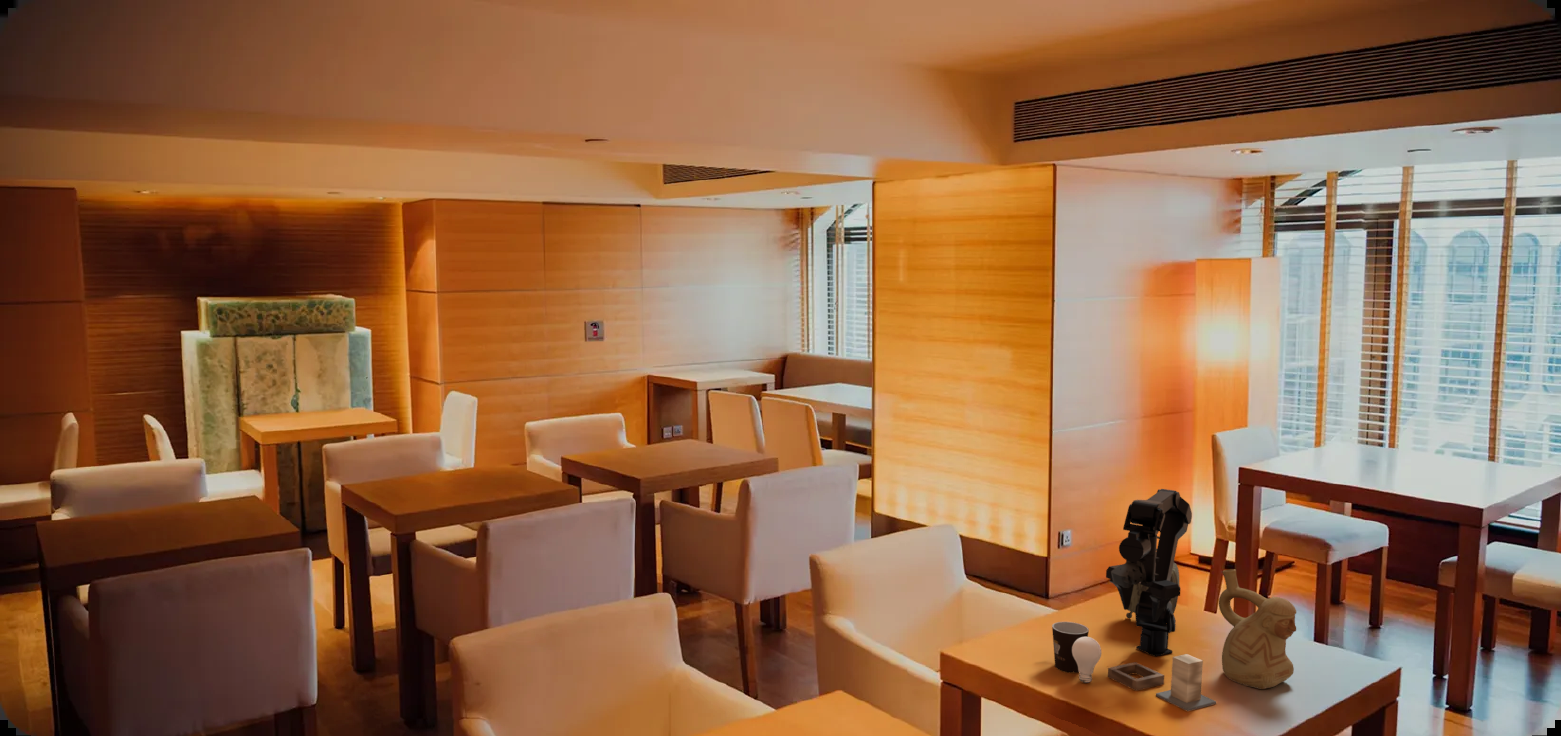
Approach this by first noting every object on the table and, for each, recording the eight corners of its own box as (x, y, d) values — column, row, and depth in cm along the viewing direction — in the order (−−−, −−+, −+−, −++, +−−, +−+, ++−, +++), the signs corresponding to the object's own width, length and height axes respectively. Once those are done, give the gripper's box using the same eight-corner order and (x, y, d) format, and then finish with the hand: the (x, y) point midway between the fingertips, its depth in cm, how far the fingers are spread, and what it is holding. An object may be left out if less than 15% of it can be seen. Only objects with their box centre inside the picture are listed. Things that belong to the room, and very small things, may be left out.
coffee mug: (1088, 675, 244) (1090, 635, 243) (1051, 672, 246) (1053, 632, 245) (1084, 658, 255) (1086, 619, 254) (1048, 654, 257) (1050, 616, 256)
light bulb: (1095, 690, 235) (1097, 644, 234) (1066, 684, 239) (1068, 638, 238) (1103, 681, 241) (1105, 636, 240) (1075, 674, 244) (1077, 630, 243)
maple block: (1184, 691, 234) (1186, 653, 233) (1200, 699, 230) (1202, 660, 229) (1170, 695, 232) (1172, 656, 231) (1186, 702, 228) (1188, 663, 227)
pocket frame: (1134, 670, 248) (1135, 661, 247) (1163, 684, 240) (1164, 674, 240) (1107, 676, 244) (1108, 667, 243) (1136, 690, 236) (1136, 681, 236)
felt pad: (1183, 688, 237) (1184, 686, 237) (1216, 703, 229) (1216, 701, 229) (1155, 695, 233) (1156, 693, 233) (1187, 711, 225) (1187, 708, 225)
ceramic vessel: (1270, 700, 232) (1277, 593, 229) (1194, 671, 248) (1200, 570, 246) (1313, 685, 240) (1320, 582, 238) (1237, 658, 257) (1243, 561, 255)
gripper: (1090, 546, 252) (1087, 608, 254) (1149, 566, 236) (1145, 632, 237) (1124, 541, 257) (1121, 602, 259) (1183, 561, 241) (1180, 625, 242)
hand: (1140, 615), depth 249 cm, fingers open, 9 cm apart
